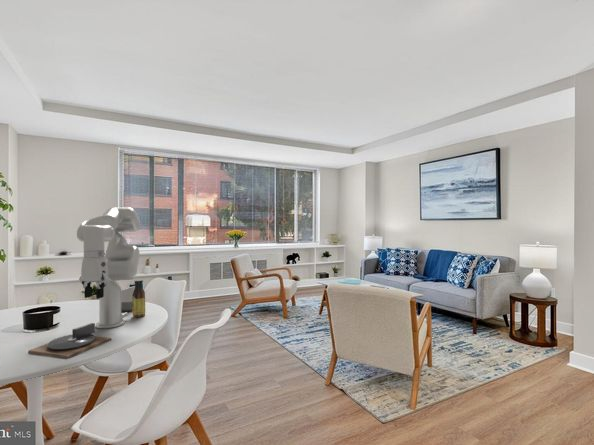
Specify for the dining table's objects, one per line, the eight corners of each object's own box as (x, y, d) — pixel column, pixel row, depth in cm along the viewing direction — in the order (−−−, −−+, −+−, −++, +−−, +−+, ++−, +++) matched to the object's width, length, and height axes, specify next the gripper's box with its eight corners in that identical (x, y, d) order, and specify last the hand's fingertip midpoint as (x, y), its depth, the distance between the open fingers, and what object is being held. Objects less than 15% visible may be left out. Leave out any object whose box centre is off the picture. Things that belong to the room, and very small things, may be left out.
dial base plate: (75, 335, 147) (75, 332, 147) (111, 340, 142) (111, 337, 142) (28, 352, 128) (28, 349, 128) (68, 358, 123) (68, 355, 123)
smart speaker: (125, 308, 195) (125, 284, 195) (140, 308, 195) (140, 284, 195) (116, 312, 185) (116, 287, 185) (132, 312, 185) (132, 287, 185)
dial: (78, 333, 147) (78, 321, 147) (107, 336, 142) (107, 324, 142) (37, 348, 129) (37, 334, 129) (69, 352, 125) (69, 338, 125)
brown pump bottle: (135, 314, 181) (135, 278, 181) (147, 314, 181) (147, 278, 181) (130, 318, 174) (130, 281, 174) (142, 318, 174) (142, 280, 174)
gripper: (117, 254, 140) (117, 296, 140) (85, 253, 145) (86, 294, 145) (103, 256, 133) (103, 300, 133) (70, 255, 137) (70, 298, 137)
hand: (94, 296), depth 139 cm, fingers open, 5 cm apart
